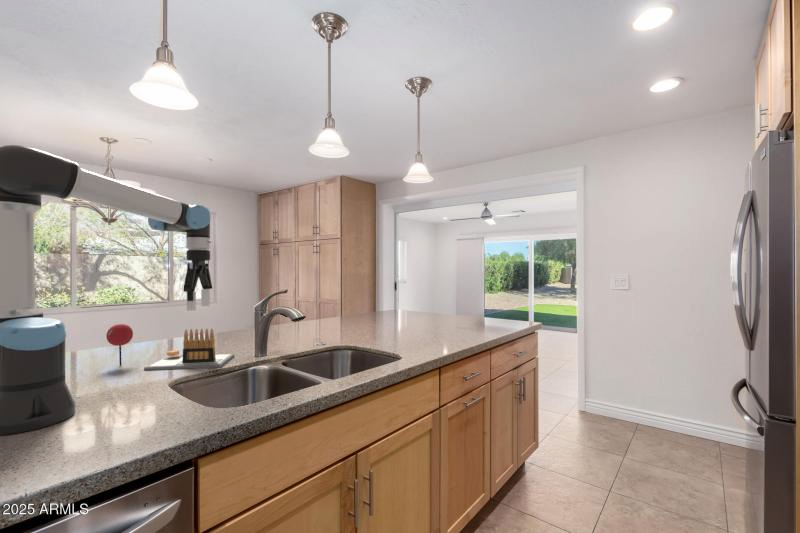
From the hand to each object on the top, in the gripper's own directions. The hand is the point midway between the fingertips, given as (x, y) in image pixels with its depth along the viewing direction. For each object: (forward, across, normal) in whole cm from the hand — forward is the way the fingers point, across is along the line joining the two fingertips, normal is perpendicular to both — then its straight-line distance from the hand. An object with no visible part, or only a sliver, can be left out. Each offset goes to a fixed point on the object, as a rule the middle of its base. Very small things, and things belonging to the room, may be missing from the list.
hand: (198, 308), depth 135 cm
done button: (+18, +9, +12) cm, 24 cm away
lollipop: (+21, +4, +28) cm, 35 cm away
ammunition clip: (+20, 0, 0) cm, 20 cm away
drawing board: (+21, +4, +4) cm, 21 cm away
